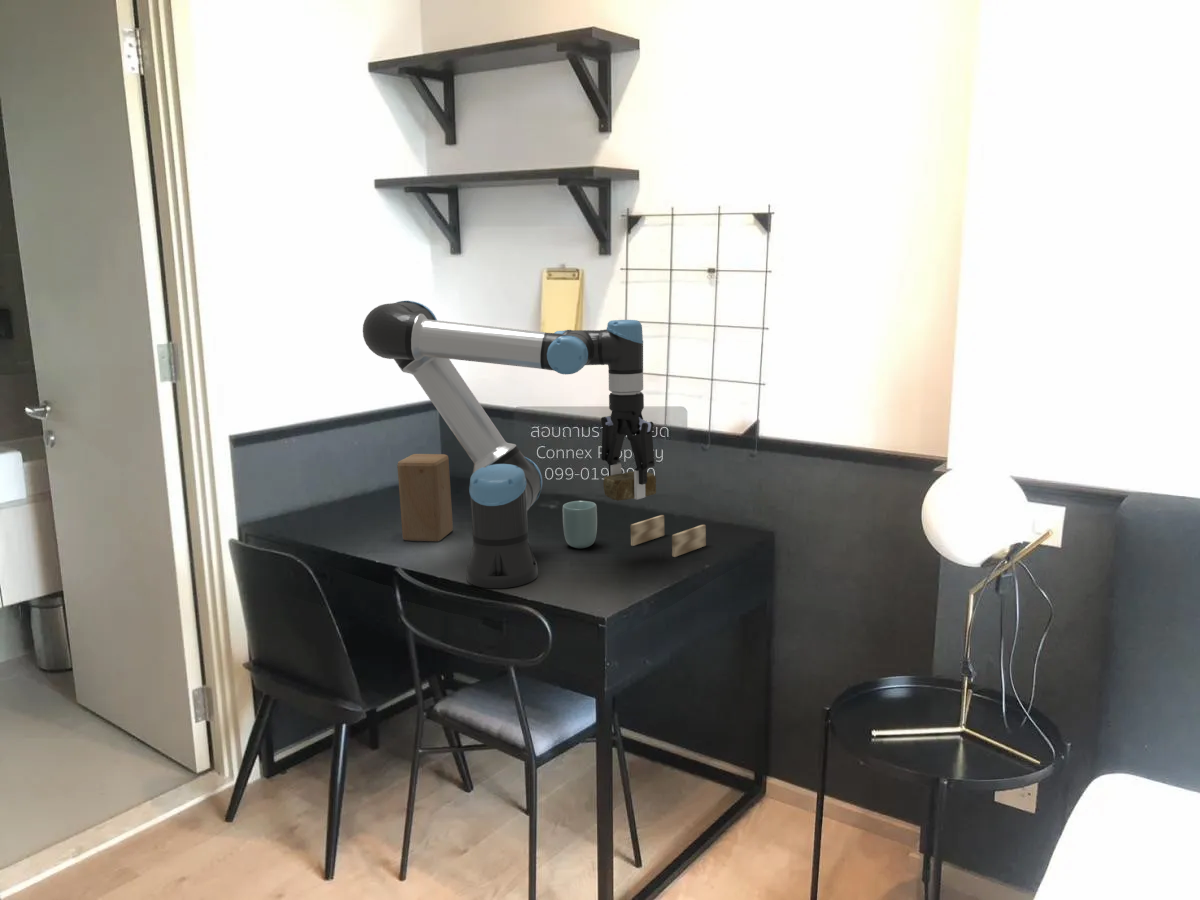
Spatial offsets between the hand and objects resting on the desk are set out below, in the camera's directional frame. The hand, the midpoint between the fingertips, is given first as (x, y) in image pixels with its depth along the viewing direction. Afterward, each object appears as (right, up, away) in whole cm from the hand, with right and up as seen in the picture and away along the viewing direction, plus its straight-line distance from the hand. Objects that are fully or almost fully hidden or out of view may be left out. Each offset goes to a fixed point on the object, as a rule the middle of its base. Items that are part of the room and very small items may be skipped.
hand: (628, 495), depth 203 cm
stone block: (+1, 0, 0) cm, 1 cm away
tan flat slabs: (+10, -12, +12) cm, 20 cm away
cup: (-11, -13, +13) cm, 22 cm away
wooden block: (-49, -12, +25) cm, 56 cm away
